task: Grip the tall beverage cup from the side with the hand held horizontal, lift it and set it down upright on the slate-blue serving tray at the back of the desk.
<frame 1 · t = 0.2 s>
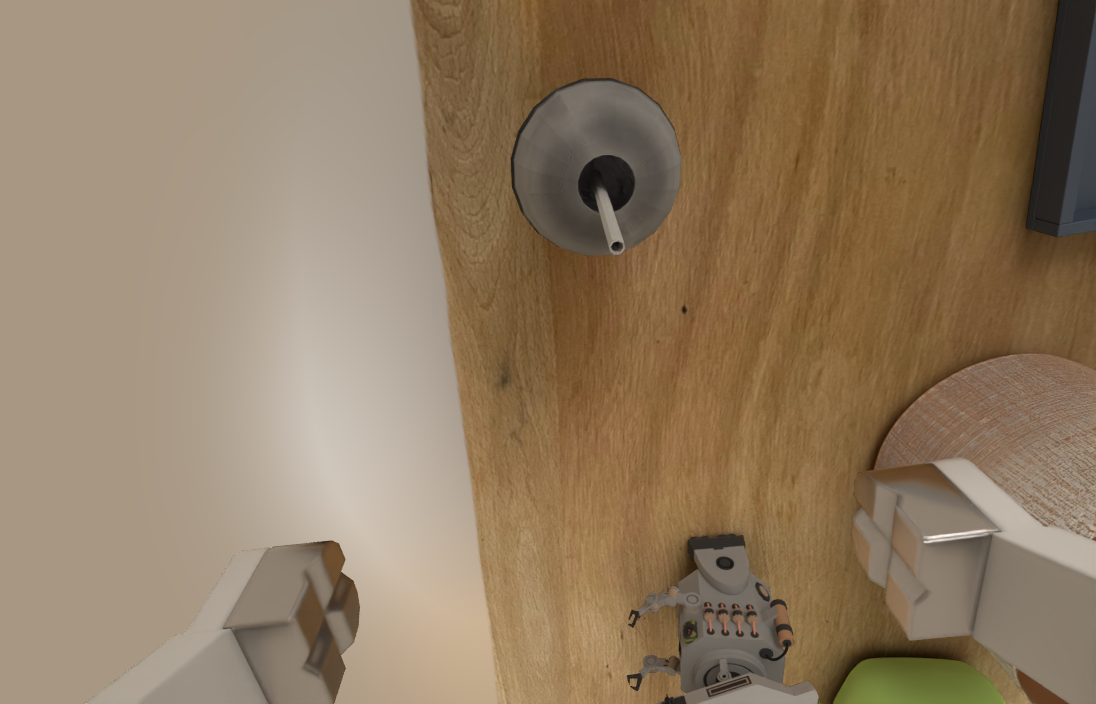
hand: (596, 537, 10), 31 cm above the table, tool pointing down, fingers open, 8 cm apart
figurine: (686, 577, 51), on the table
beverage cup: (576, 145, 37), on the table
planter: (981, 453, 47), on the table
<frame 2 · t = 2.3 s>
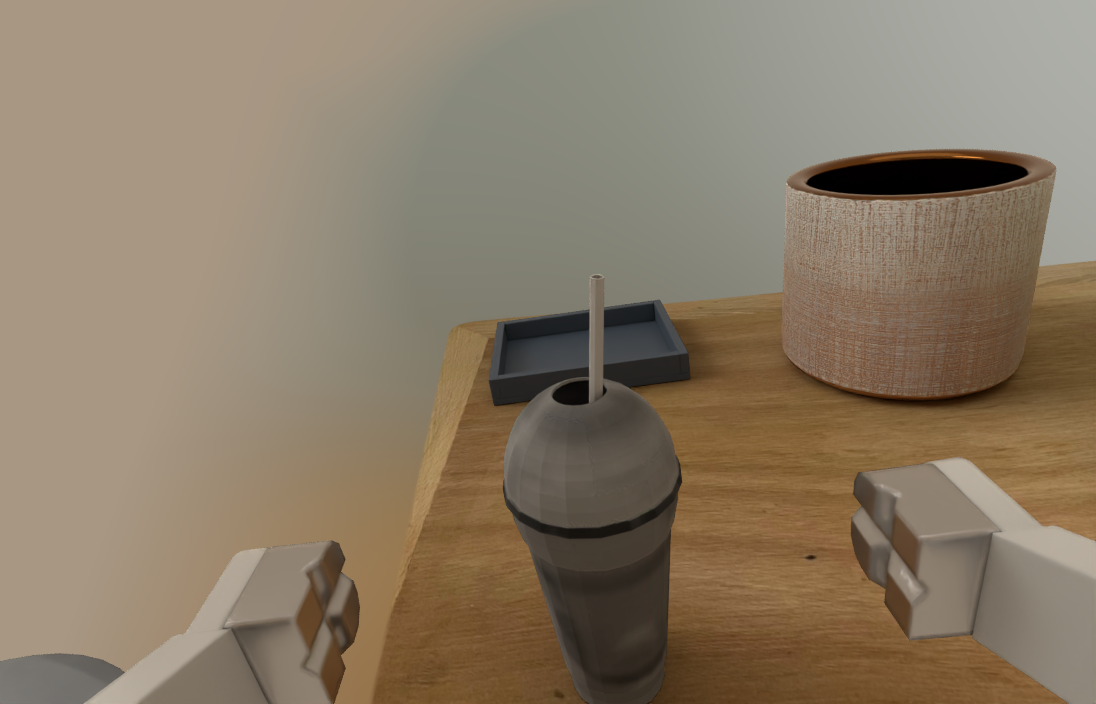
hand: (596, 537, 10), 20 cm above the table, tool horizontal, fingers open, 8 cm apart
beverage cup: (617, 671, 30), on the table
tray: (585, 359, 61), on the table
planter: (891, 357, 53), on the table
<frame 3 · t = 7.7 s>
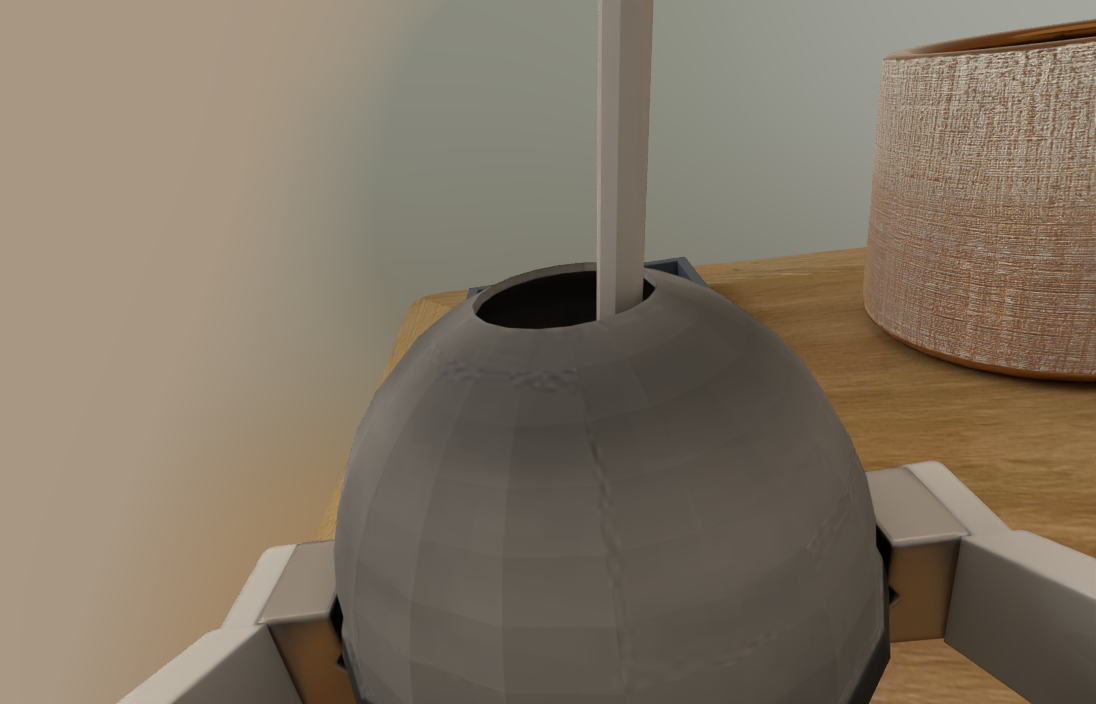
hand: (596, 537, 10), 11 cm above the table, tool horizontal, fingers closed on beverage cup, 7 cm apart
tray: (586, 334, 45), on the table
planter: (1027, 324, 37), on the table
when the fingers open (12 cm above the table, at t = 21.3 s): beverage cup stays where it is, resting on tray.
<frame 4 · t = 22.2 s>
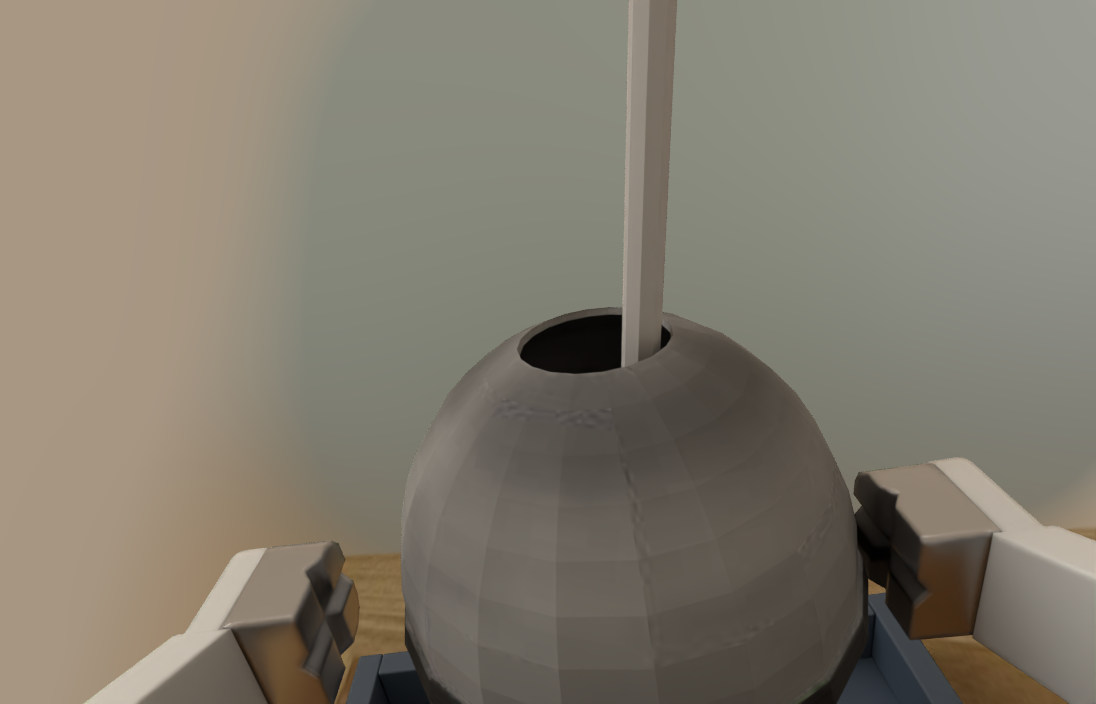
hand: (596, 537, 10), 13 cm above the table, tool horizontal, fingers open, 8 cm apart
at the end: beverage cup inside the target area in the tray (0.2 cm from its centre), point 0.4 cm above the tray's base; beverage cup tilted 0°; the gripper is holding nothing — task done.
